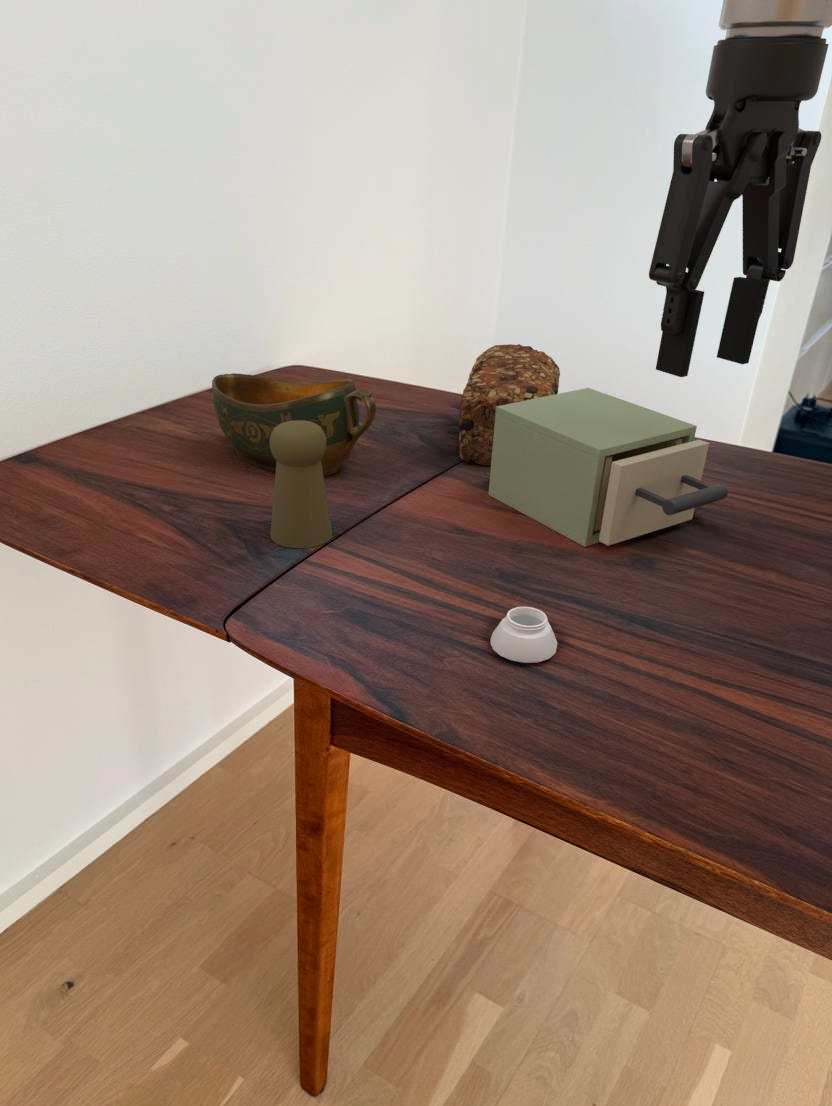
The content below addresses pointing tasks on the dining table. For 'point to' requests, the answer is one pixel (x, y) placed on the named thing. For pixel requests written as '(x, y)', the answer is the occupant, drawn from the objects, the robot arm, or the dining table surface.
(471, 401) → the bread
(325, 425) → the gravy boat
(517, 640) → the white jar
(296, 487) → the olive pawn
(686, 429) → the cabinet
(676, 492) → the drawer
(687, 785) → the dining table surface
